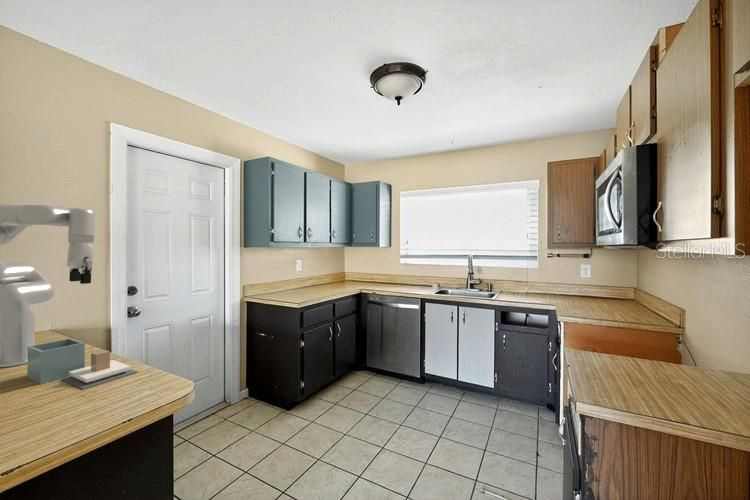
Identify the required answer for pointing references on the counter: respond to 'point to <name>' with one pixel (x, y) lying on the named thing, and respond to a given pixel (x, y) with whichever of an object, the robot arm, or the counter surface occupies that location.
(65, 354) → the teal storage bin
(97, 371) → the lid
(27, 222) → the robot arm
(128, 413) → the counter surface
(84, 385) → the mat
